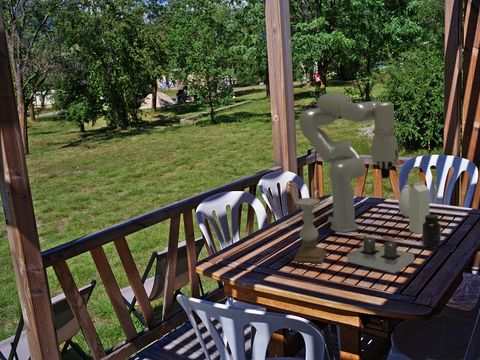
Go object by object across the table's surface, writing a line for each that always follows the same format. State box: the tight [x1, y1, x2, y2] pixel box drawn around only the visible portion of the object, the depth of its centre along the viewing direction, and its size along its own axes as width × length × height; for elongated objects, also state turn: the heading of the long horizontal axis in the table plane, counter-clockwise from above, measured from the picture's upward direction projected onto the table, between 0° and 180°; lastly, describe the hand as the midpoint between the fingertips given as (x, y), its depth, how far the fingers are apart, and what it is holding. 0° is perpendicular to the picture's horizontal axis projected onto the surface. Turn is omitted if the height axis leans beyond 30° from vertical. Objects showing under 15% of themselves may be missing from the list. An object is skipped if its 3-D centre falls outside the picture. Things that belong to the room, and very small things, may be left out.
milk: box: [408, 180, 430, 235], centre depth 226 cm, size 6×6×22 cm
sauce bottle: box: [398, 180, 411, 218], centre depth 248 cm, size 8×8×18 cm
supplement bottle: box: [422, 214, 442, 248], centre depth 209 cm, size 7×7×12 cm
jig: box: [346, 237, 415, 274], centre depth 197 cm, size 20×14×8 cm
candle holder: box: [293, 197, 328, 265], centre depth 203 cm, size 11×11×24 cm
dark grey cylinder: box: [383, 241, 398, 260], centre depth 193 cm, size 4×4×8 cm
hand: (385, 177), depth 214 cm, fingers closed
